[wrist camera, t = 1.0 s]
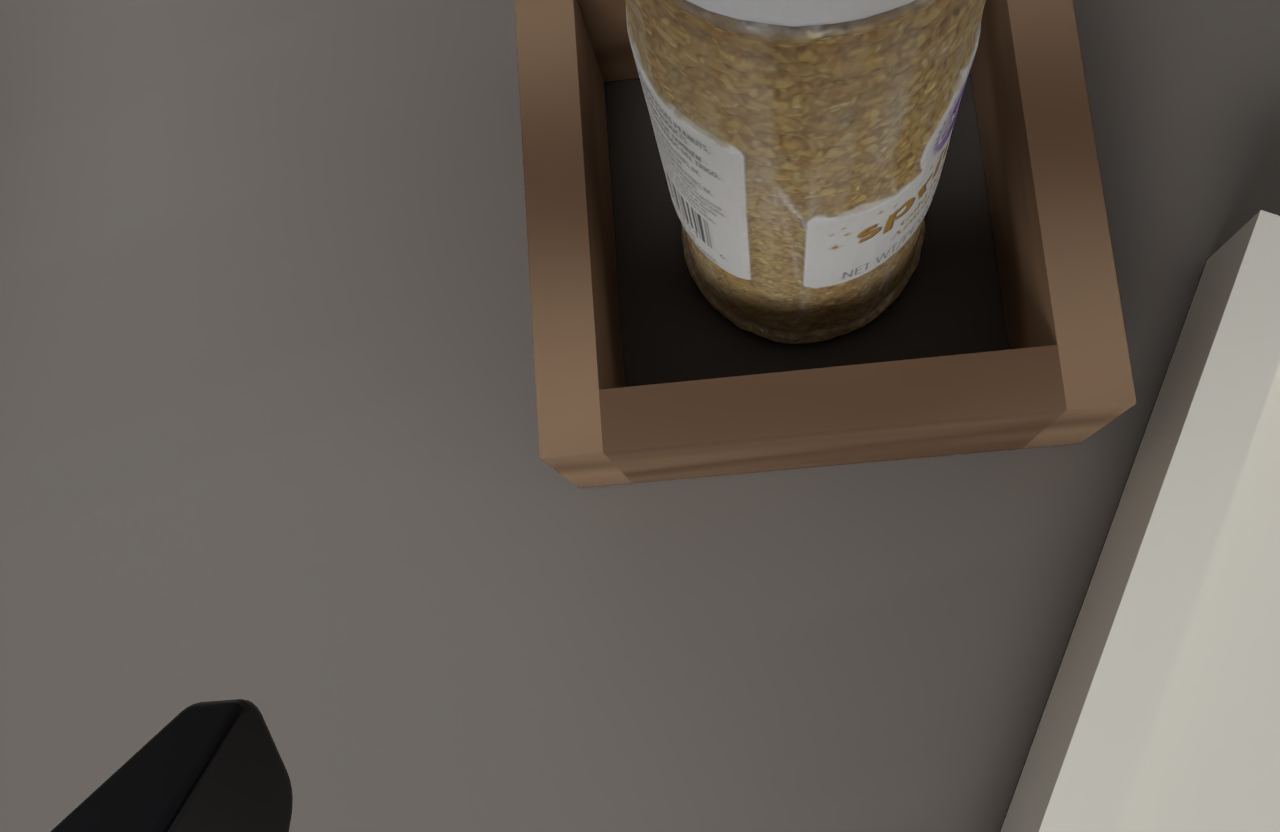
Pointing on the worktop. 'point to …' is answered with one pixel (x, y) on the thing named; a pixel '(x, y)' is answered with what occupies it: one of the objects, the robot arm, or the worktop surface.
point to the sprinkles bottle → (802, 146)
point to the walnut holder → (843, 395)
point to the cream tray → (1183, 594)
